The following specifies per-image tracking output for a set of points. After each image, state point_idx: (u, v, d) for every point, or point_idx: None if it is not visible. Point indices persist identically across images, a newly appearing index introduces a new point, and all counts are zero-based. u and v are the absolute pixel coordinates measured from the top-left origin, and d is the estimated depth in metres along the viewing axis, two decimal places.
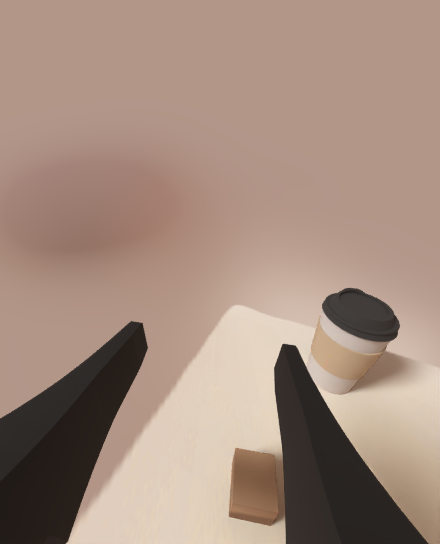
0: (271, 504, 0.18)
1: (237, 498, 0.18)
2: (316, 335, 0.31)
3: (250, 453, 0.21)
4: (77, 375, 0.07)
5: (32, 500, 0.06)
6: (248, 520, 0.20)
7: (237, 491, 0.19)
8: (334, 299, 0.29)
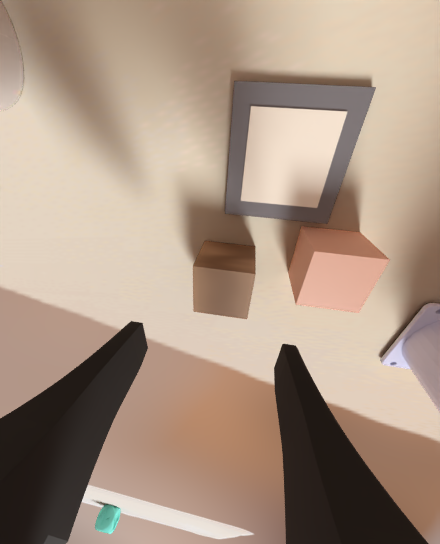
0: (247, 280, 0.13)
1: (243, 314, 0.15)
2: None
3: (196, 295, 0.15)
4: (77, 376, 0.07)
5: (32, 501, 0.06)
6: None
7: (236, 313, 0.15)
8: None
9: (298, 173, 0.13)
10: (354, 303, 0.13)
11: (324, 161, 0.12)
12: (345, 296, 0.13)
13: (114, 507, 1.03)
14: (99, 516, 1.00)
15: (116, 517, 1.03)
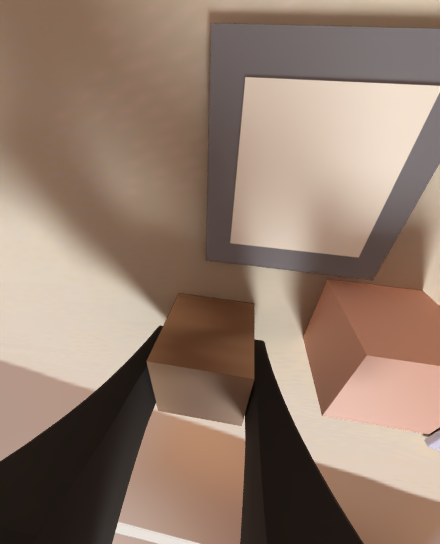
0: (240, 385, 0.08)
1: (235, 420, 0.09)
2: None
3: (159, 395, 0.09)
4: (117, 382, 0.07)
5: (86, 514, 0.05)
6: None
7: (225, 419, 0.09)
8: None
9: (330, 202, 0.07)
10: (425, 423, 0.08)
11: (381, 182, 0.07)
12: (410, 415, 0.07)
13: None
14: None
15: None
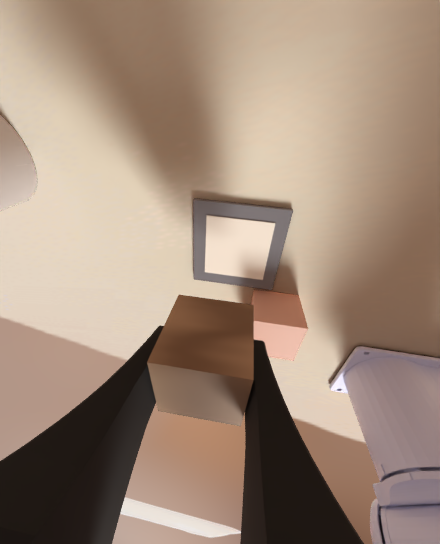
0: (240, 386, 0.08)
1: (234, 421, 0.10)
2: None
3: (159, 395, 0.09)
4: (117, 382, 0.07)
5: (86, 513, 0.05)
6: None
7: (224, 419, 0.10)
8: None
9: (246, 257, 0.17)
10: (289, 354, 0.17)
11: (263, 251, 0.16)
12: (281, 350, 0.17)
13: None
14: None
15: None
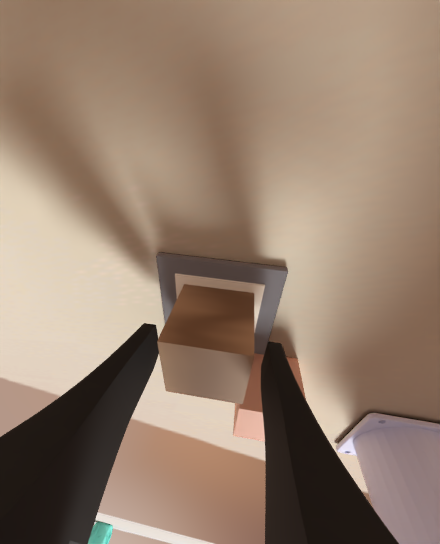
0: (242, 363, 0.09)
1: (236, 399, 0.10)
2: None
3: (167, 375, 0.10)
4: (95, 379, 0.07)
5: (57, 507, 0.05)
6: None
7: (227, 398, 0.10)
8: None
9: None
10: None
11: None
12: None
13: (106, 524, 1.03)
14: (91, 534, 1.00)
15: (108, 534, 1.03)
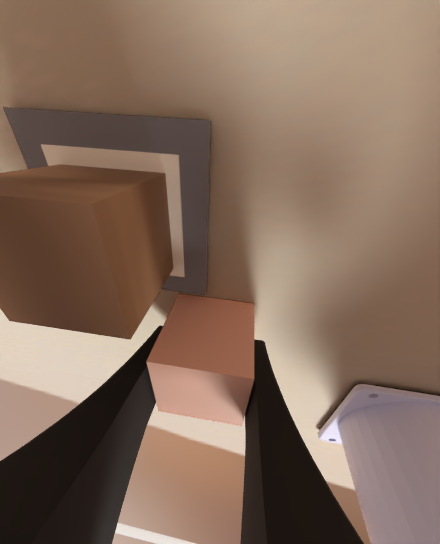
0: (81, 230, 0.04)
1: (116, 328, 0.06)
2: None
3: None
4: (117, 382, 0.07)
5: (86, 514, 0.05)
6: (168, 231, 0.08)
7: (102, 327, 0.06)
8: None
9: None
10: (231, 417, 0.09)
11: (171, 221, 0.08)
12: (215, 409, 0.09)
13: None
14: None
15: None
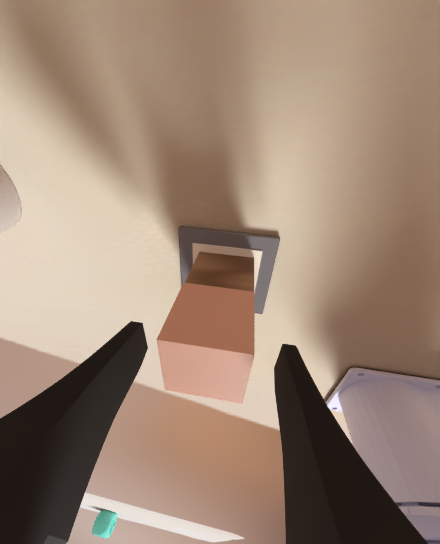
0: None
1: None
2: None
3: None
4: (77, 376, 0.07)
5: (32, 501, 0.06)
6: None
7: None
8: None
9: None
10: (232, 394, 0.10)
11: None
12: (218, 387, 0.10)
13: (111, 512, 1.06)
14: (96, 521, 1.04)
15: (113, 522, 1.07)
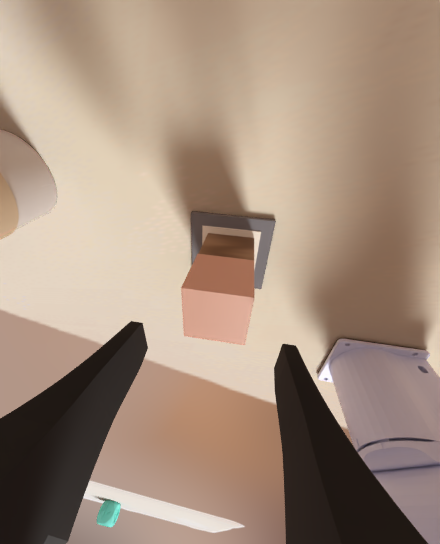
0: None
1: None
2: None
3: None
4: (77, 376, 0.08)
5: (32, 501, 0.06)
6: None
7: None
8: None
9: None
10: (237, 336, 0.13)
11: None
12: (226, 330, 0.13)
13: (114, 502, 1.09)
14: (100, 511, 1.07)
15: (116, 512, 1.09)
